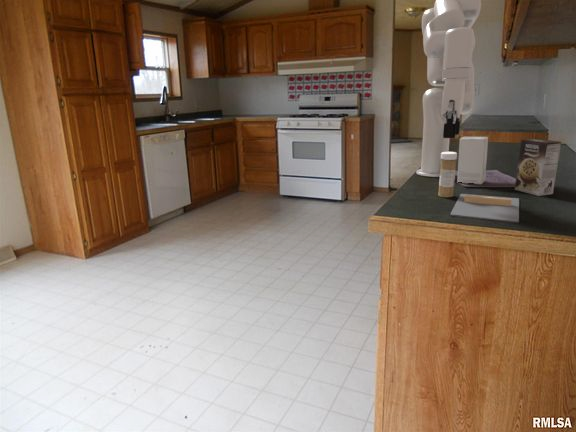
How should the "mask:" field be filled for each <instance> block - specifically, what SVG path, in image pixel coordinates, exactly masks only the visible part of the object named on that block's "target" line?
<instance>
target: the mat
mask: <svg viewBox="0 0 576 432" xmlns="http://www.w3.org/2000/svg"><path fill="white" fill-rule="evenodd" d="M449 217H458V218H471V219H480V220H490V221H498V222H507V223H508V222H509V223H520V198H519V197H518V198H517V197H505V196H496V195H495V196H492V195H480V194H470V193H469V194H468V193H460V194H459V196H458V198H457V200H456V202H455V204H454V206H453V208H452V210H451V212H450V214H449Z"/></svg>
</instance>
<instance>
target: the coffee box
mask: <svg viewBox="0 0 576 432" xmlns="http://www.w3.org/2000/svg"><path fill="white" fill-rule="evenodd" d="M561 147H562V141H559V140H550V139H543V138H542V139H541V138H521V139H520V148H519V156H518V163H517V170H516V175H515V176H516V177H515V178H516V179H515V185H514V190H515V191H517V192H522V193H526V194H529V195H534V196H538V197H540V196H547V195H553V194H554V188H555V182H556V176H557V169H558V163H559V158H560V153H561Z"/></svg>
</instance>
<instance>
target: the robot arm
mask: <svg viewBox="0 0 576 432" xmlns="http://www.w3.org/2000/svg"><path fill="white" fill-rule="evenodd" d="M481 9H482V1H481V0H435V2H434V5H433V7H431V8H428V9H427V10H425V11H424V12H423V14H422V17H421V32H422V33H421V34H422V37H423V38H422V44H423V53H424V54H425V56H426V57H427V62H426V63H427V65H426V66H427V68H426V70H427V71H426V76H427V77H426V78H427V82H428V84H429V85H431V86H433V87H432V88H430V89H429V88H428V89H427V90H426V91H425V92H424V93H423V95H422V113H423V125H422V127H423V129H422V130H423V131H422V146H421V160H420V161H421V163H420V168H418V169H417V170H416V175H418V176H422V177H429V178H430V177H431V178H440V169H441V153H442V152H450V151H449V150H450V149H449V148H450V139H455V138H456V135H457V136H458V135H459V134H460V125H461V115H467V114H469V113H471V112H472V110H473V109H474V104H475V66H474V63H473V51H474V50H475V48H476V47H475V46H476V36H475V32H474V29H473V28H472V27H473V25H474V23H475V22H476V21H477V19H478V18H479V16H480V12H481Z"/></svg>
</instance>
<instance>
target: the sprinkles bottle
mask: <svg viewBox="0 0 576 432" xmlns="http://www.w3.org/2000/svg"><path fill="white" fill-rule="evenodd" d="M457 159H458V153H457V152H456V151H449V152H442V153H441V169H440V177H439V180H438V181H439V182H438V193H437V195H438V196H439V197H441V198H452V197H454V187H455V180H456V168H457V167H456V164H457Z"/></svg>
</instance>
